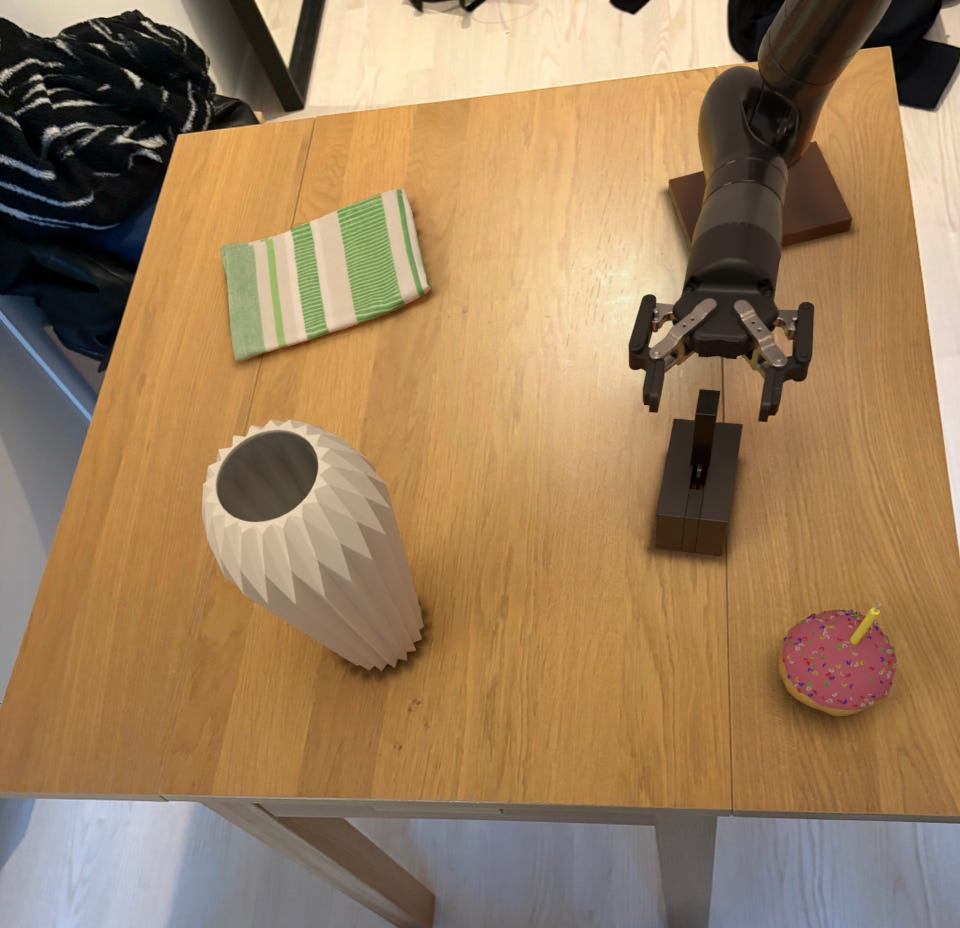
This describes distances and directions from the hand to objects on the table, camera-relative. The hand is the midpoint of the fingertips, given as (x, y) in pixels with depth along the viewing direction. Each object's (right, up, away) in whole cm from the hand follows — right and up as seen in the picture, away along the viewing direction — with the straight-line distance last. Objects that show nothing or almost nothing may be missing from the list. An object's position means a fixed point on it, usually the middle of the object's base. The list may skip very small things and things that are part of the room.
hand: (708, 411), depth 65 cm
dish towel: (-36, +24, +31) cm, 53 cm away
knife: (+2, -5, +12) cm, 13 cm away
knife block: (+2, -5, +12) cm, 13 cm away
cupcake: (+11, -22, +4) cm, 24 cm away
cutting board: (+12, +28, +24) cm, 39 cm away
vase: (-27, -17, +13) cm, 35 cm away
